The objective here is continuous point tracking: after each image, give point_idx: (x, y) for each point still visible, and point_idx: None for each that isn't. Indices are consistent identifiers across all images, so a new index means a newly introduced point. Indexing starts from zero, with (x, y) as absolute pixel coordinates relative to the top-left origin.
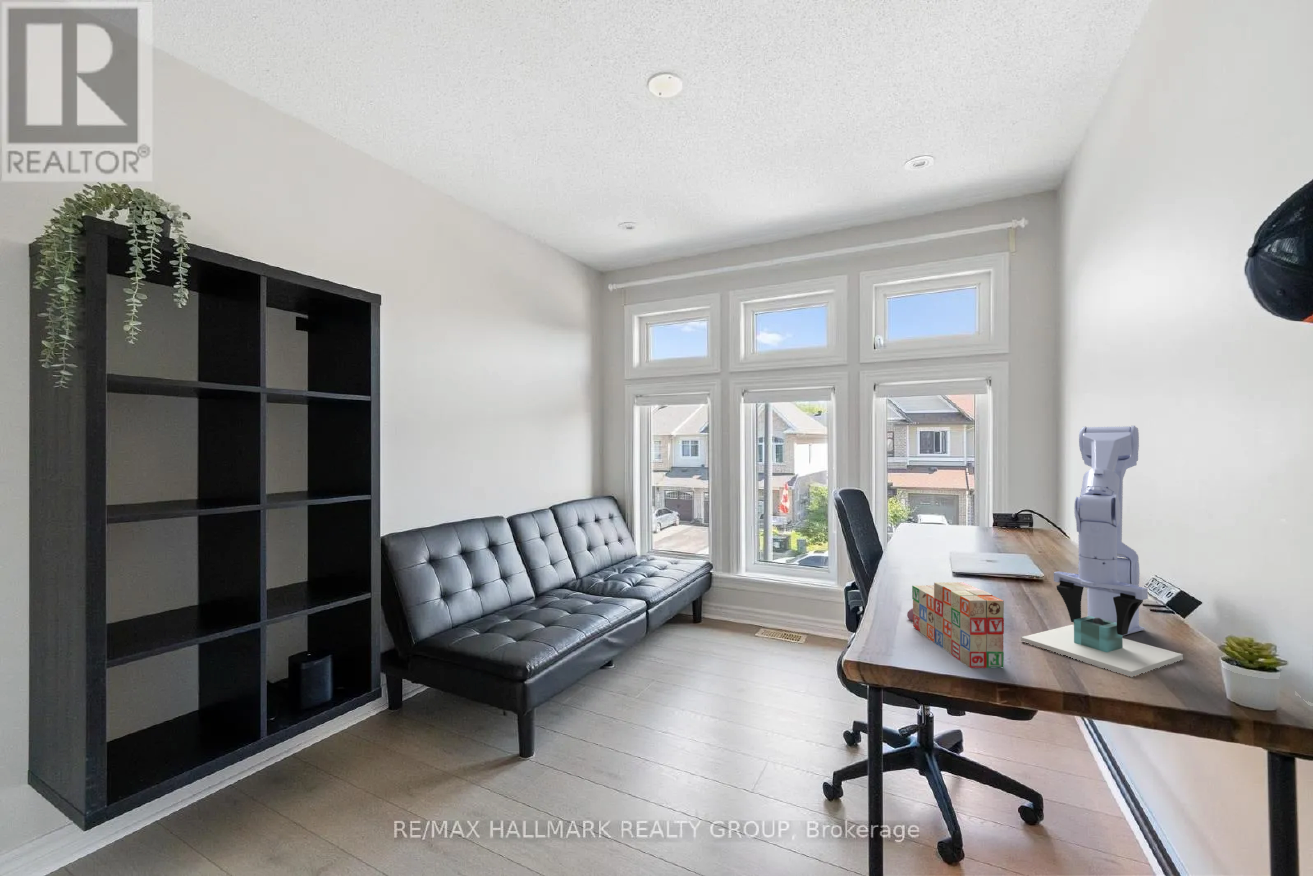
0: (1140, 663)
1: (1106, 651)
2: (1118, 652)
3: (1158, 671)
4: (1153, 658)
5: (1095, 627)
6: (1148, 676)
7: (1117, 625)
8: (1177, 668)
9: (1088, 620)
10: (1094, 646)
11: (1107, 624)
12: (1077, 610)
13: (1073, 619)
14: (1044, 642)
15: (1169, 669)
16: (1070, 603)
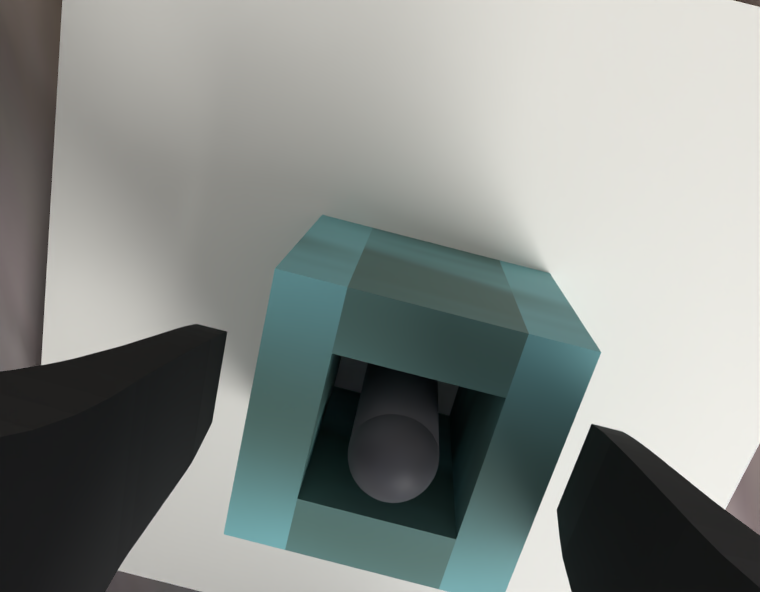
0: (102, 131)
1: (324, 217)
2: (268, 282)
3: (51, 187)
4: (93, 332)
5: (384, 288)
6: (49, 8)
7: (186, 349)
8: (14, 345)
9: (480, 463)
10: (404, 239)
11: (308, 426)
12: (606, 566)
13: (610, 433)
14: (752, 67)
15: (31, 287)
16: (714, 541)
